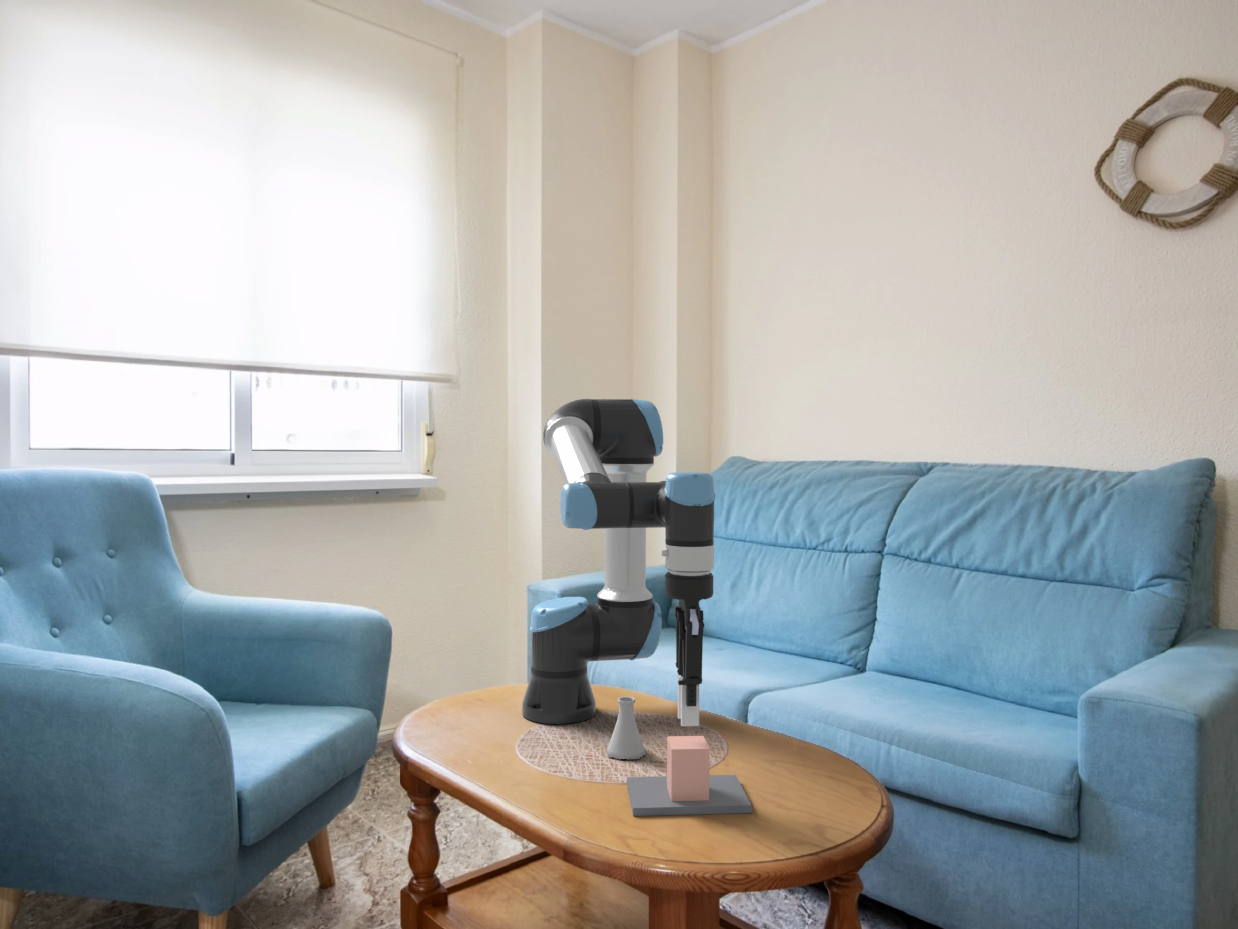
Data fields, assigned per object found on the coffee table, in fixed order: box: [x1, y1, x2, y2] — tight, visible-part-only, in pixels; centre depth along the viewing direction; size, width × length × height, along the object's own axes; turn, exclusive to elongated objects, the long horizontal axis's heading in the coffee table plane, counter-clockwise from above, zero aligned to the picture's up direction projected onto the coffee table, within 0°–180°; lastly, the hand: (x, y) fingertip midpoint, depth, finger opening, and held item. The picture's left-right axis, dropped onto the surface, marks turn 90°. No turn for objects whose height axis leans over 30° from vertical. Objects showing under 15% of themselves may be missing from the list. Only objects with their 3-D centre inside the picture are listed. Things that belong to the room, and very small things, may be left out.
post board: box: [626, 774, 753, 817], centre depth 137 cm, size 12×18×6 cm, turn 94°
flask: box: [606, 696, 647, 760], centre depth 157 cm, size 7×7×10 cm
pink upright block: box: [666, 735, 710, 801], centre depth 136 cm, size 6×6×8 cm
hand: (688, 721), depth 136 cm, fingers open, 3 cm apart
